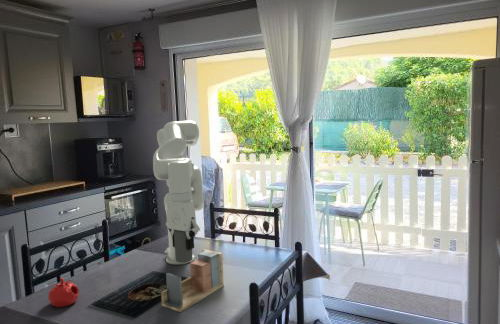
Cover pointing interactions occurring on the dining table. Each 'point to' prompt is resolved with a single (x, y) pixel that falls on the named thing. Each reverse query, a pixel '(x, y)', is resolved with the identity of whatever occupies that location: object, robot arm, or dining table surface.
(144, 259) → the dining table surface
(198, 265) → the rack
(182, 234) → the bottle
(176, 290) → the bookend
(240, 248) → the dining table surface
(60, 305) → the pomegranate
